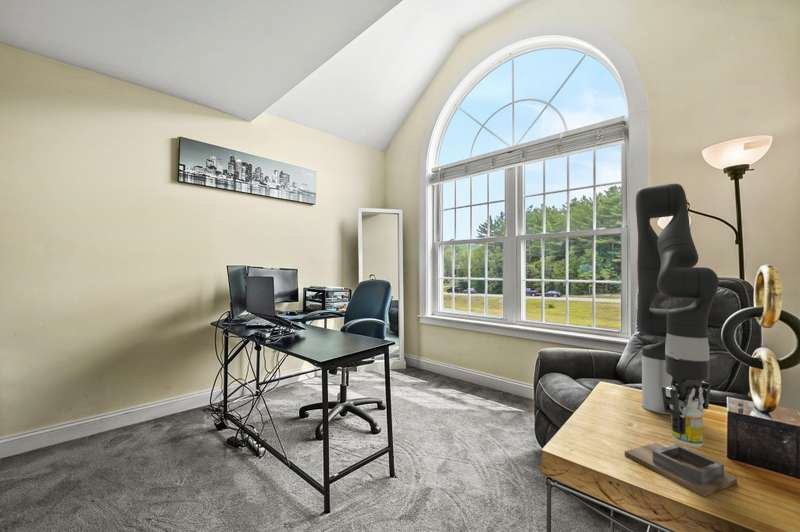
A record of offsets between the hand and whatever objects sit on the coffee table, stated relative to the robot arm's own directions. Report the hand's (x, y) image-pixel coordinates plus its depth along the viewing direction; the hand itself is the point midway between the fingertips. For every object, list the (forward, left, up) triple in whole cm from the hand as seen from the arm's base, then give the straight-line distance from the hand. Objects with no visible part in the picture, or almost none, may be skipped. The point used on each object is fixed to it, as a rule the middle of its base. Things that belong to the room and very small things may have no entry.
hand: (686, 430), depth 75 cm
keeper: (0, -2, -10) cm, 10 cm away
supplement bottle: (0, 0, -3) cm, 3 cm away
